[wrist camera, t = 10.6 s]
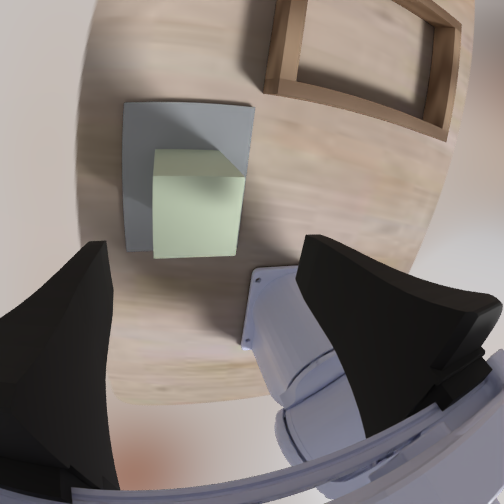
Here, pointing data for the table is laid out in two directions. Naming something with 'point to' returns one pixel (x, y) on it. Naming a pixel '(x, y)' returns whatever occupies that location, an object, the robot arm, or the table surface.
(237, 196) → the wood block
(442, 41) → the box
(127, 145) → the mat
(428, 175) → the table surface
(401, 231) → the table surface
